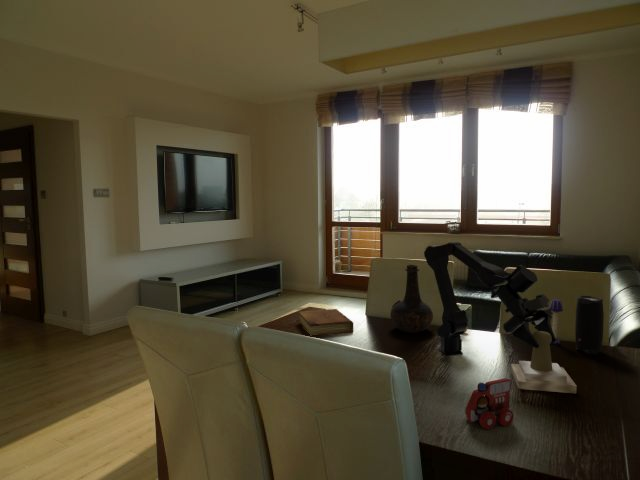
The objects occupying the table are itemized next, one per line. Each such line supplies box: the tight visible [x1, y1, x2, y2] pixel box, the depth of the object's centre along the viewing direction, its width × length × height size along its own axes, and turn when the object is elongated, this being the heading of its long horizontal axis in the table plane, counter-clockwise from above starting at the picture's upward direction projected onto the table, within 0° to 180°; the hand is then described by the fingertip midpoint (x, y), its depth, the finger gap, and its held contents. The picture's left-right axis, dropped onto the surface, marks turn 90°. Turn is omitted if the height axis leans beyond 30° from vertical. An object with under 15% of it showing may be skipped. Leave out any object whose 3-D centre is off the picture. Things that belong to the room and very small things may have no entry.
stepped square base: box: [510, 360, 577, 394], centre depth 136 cm, size 15×15×4 cm
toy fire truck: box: [464, 377, 515, 430], centre depth 111 cm, size 7×12×10 cm, turn 109°
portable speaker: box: [574, 295, 605, 355], centre depth 162 cm, size 9×9×20 cm
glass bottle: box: [389, 264, 434, 334], centre depth 193 cm, size 18×18×28 cm
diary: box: [298, 308, 354, 336], centre depth 200 cm, size 23×19×6 cm
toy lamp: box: [548, 298, 564, 345], centre depth 172 cm, size 5×5×17 cm
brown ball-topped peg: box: [530, 330, 553, 372], centre depth 136 cm, size 6×6×11 cm
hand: (546, 344), depth 134 cm, fingers open, 9 cm apart
